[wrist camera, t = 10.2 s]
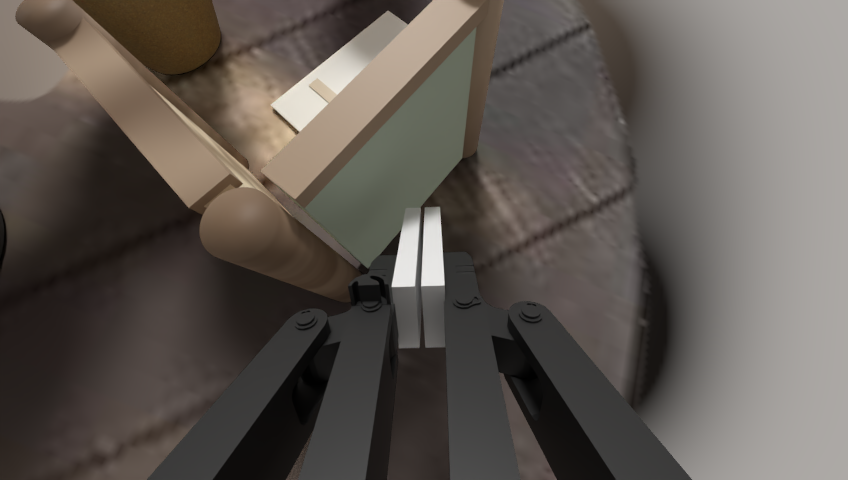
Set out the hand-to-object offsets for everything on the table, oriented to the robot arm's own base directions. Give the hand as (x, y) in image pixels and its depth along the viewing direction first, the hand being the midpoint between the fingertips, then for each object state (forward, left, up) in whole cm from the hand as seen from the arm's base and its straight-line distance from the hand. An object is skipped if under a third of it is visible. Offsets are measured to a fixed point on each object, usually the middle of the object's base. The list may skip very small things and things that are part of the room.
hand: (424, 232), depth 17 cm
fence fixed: (-9, -7, -7) cm, 13 cm away
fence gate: (-4, +2, -7) cm, 8 cm away
